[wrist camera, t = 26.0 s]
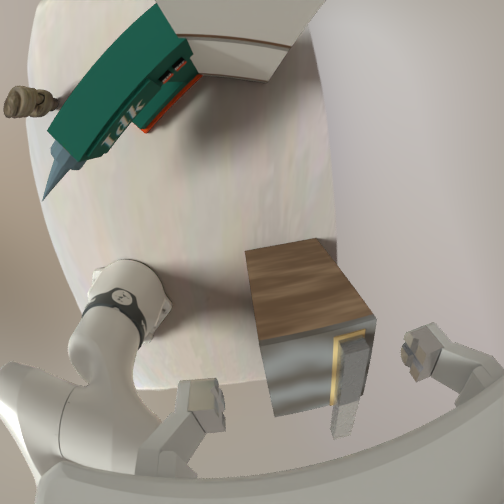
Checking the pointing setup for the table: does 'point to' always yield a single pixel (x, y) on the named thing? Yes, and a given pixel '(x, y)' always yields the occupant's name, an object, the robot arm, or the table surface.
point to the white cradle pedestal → (239, 33)
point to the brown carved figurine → (28, 102)
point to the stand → (303, 322)
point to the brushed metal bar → (348, 383)
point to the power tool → (122, 92)
